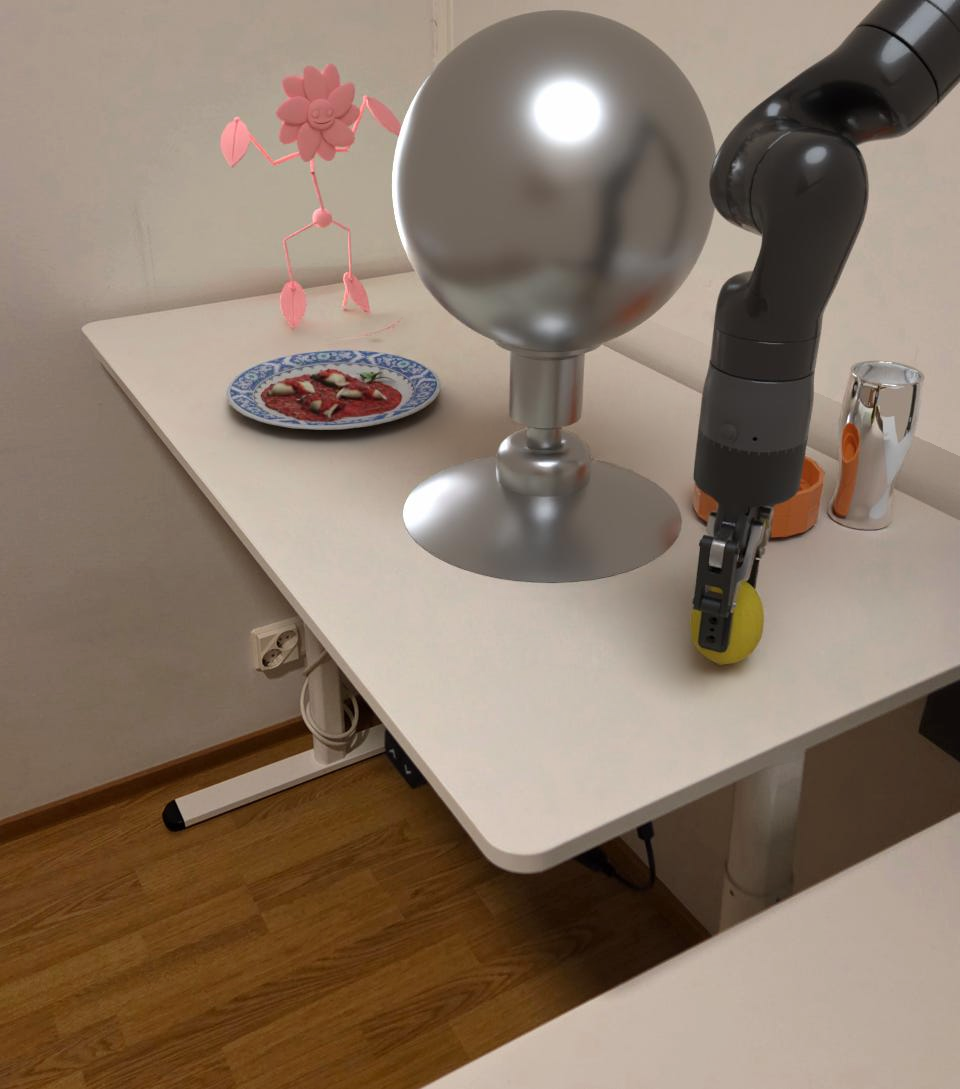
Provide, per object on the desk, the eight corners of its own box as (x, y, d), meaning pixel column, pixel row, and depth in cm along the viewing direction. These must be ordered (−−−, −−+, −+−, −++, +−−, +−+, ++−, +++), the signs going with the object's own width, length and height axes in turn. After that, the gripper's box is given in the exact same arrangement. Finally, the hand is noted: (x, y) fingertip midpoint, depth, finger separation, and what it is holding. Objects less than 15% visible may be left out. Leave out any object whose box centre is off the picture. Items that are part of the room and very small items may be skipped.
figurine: (231, 326, 160) (203, 65, 143) (388, 299, 172) (379, 55, 155) (273, 356, 149) (247, 77, 132) (438, 325, 161) (434, 65, 144)
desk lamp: (570, 617, 93) (601, 30, 71) (345, 516, 109) (313, 10, 87) (733, 504, 111) (798, 10, 89) (520, 432, 127) (531, -4, 105)
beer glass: (808, 514, 109) (833, 370, 102) (847, 493, 114) (873, 354, 106) (871, 539, 105) (901, 391, 98) (909, 517, 109) (941, 373, 102)
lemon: (671, 661, 87) (680, 574, 84) (716, 636, 91) (727, 551, 87) (726, 693, 84) (739, 604, 80) (771, 666, 87) (785, 579, 83)
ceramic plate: (290, 464, 119) (288, 439, 118) (193, 393, 137) (190, 370, 136) (482, 411, 132) (482, 387, 131) (371, 352, 150) (370, 331, 149)
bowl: (793, 485, 115) (800, 441, 113) (834, 541, 105) (842, 494, 102) (680, 488, 114) (685, 444, 112) (709, 545, 104) (715, 497, 101)
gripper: (784, 475, 70) (752, 685, 78) (827, 400, 81) (794, 590, 89) (671, 453, 73) (650, 658, 81) (727, 383, 84) (704, 569, 92)
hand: (726, 622), depth 85 cm, fingers open, 7 cm apart
